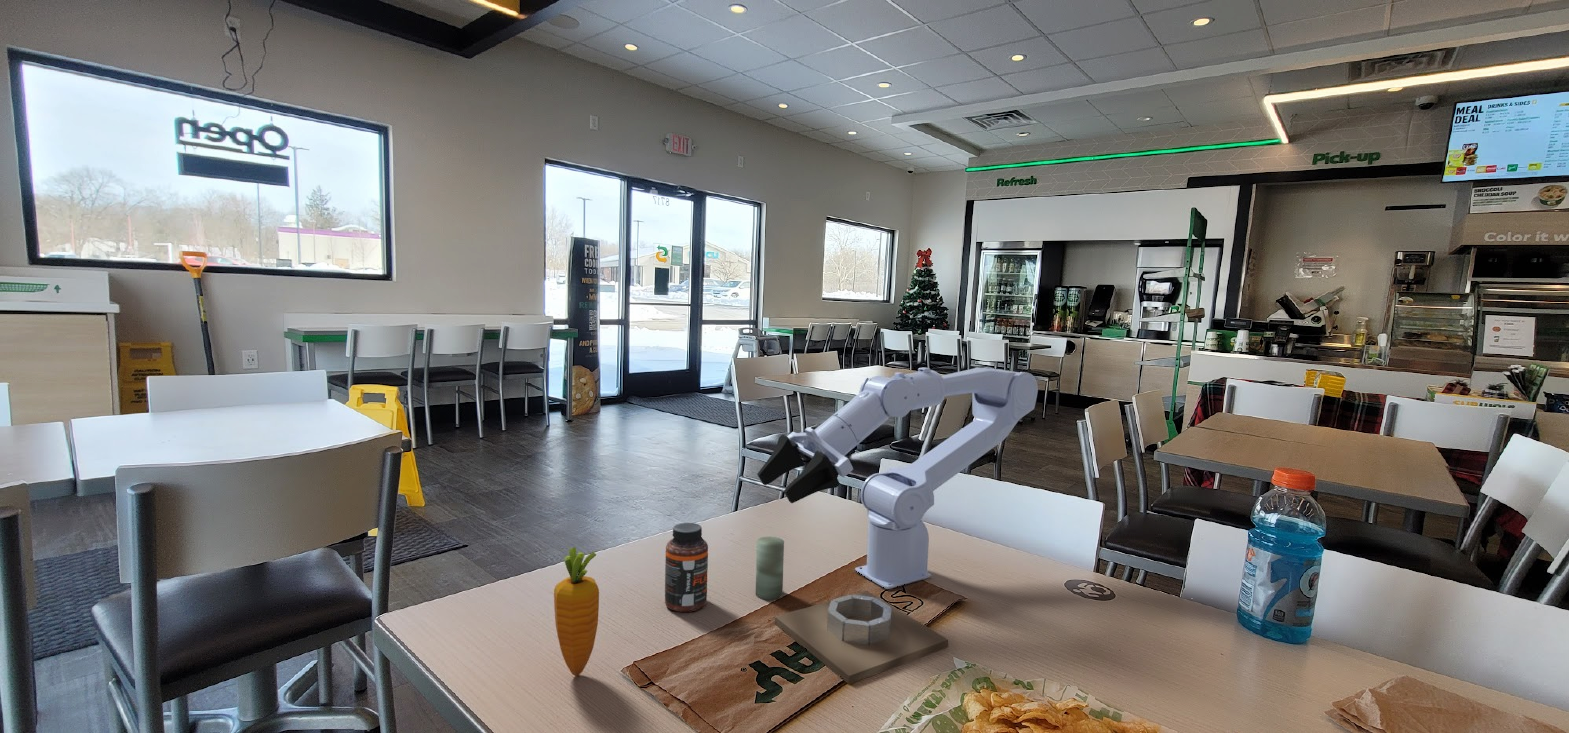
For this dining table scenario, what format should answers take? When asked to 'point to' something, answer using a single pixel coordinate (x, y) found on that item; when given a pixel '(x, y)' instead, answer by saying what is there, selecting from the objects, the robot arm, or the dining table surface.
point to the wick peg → (769, 568)
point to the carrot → (576, 612)
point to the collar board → (859, 658)
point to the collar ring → (854, 628)
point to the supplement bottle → (686, 569)
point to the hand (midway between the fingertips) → (773, 488)
